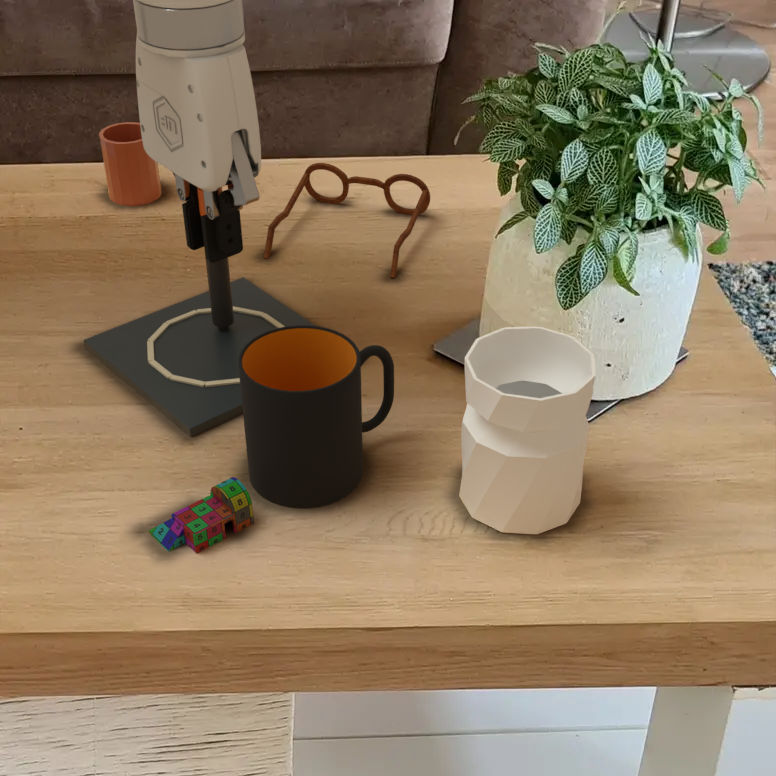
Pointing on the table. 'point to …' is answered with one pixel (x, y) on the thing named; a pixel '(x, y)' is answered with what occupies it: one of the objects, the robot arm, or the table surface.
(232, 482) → the toy block structure
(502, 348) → the vase
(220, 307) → the marker
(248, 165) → the robot arm
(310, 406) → the mug
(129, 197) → the pen cup
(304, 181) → the glasses
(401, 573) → the table surface
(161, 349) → the board
